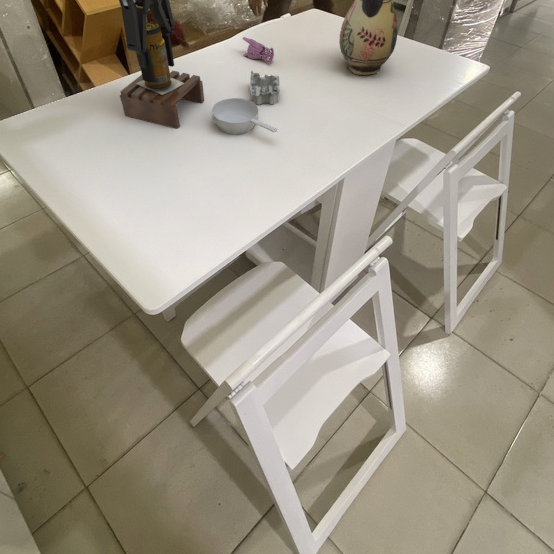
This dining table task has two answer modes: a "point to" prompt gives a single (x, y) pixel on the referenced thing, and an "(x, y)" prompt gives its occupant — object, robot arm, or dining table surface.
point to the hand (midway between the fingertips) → (159, 72)
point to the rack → (160, 100)
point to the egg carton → (264, 88)
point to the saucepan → (237, 116)
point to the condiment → (158, 62)
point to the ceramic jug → (368, 35)
